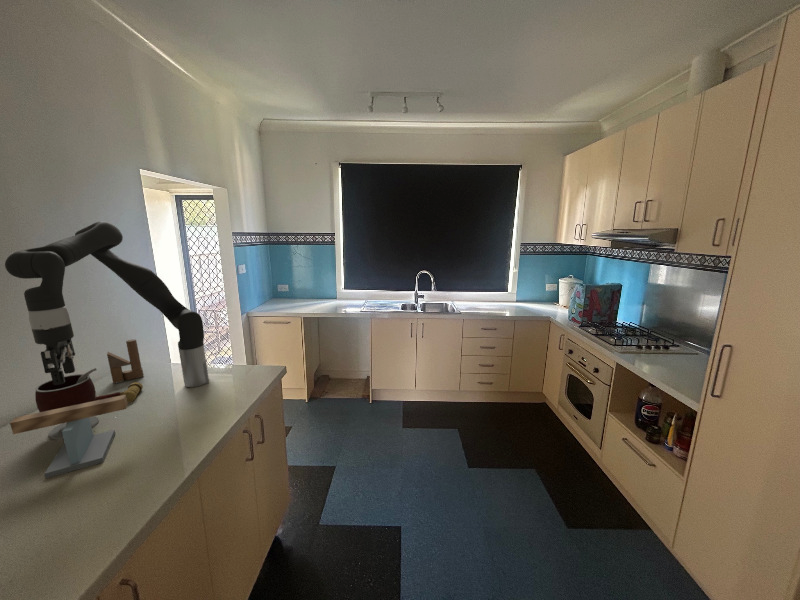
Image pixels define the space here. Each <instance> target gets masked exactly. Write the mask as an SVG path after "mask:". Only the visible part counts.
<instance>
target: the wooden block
mask: <svg viewBox="0 0 800 600" xmlns="http://www.w3.org/2000/svg"><path fill="white" fill-rule="evenodd" d="M125 343H126V348H127V353H128V358H129V360H127V359H125V358H123V357H121V356H118V355H116V354H114V353H112V352H110V351H107V352H106V357H107V361H108V365H109V369H110V376H111V378H112V384H117V383H116V382H118V383H122V382H124V379H125V380H127V381H129V380H130V379H131V380H135V379H139V378H143V377H144V370H143V367H142V363H141V358H140V353H139V349H138V343H137V339H135V338H134V339H133V338H132V339H128V340H126V342H125ZM124 366H130V369H128V370H125V371H124V370H123V369H122V367H124ZM121 381H122V382H121Z"/></svg>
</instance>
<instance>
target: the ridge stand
mask: <svg viewBox="0 0 800 600" xmlns="http://www.w3.org/2000/svg"><path fill="white" fill-rule="evenodd" d="M62 434H63V442H64V443H63V444H62V446H61V448H60V449H59V450H58V452H57V453H56V454H55V456H54V458H53V459H52V461H51V462H50V464H49V466H48V468H46V469H45V472H44V473H43V476H44V478H45V479H48V478H52V477H56V476H59V475H62V474H66V473H70V472H73V471H77V470H81V469H84V468H87V467H92V466H95V465H98V464H102V463H104V461H105V459H106V456H107V454H108V452H109V450H110V447H111V445H112V443H113V440H114V437H115V435H116V430H115V429H112V430H108V431H104V432H99V433H96V434H94V432H93V428H92V427H91V423H90V418H84V419H80V420H75V421H71V422H68V424H67V425H66V427H65V428H64V429H63V431H62Z"/></svg>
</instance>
